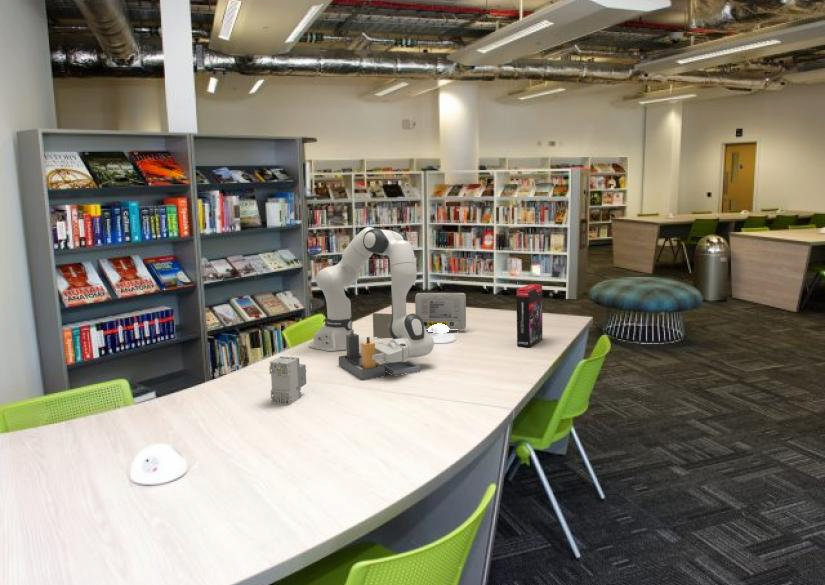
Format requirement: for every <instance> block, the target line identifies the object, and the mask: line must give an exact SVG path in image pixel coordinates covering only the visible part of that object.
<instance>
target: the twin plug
mask: <svg viewBox="0 0 825 585" xmlns="http://www.w3.org/2000/svg"><path fill="white" fill-rule="evenodd" d="M354 331H355V329H354V328H352V329H351V334H350V335H346V347H347V350H346V355H347V359H355V358H359V353H360V335H359V334H358V333H355V332H354Z"/></svg>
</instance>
